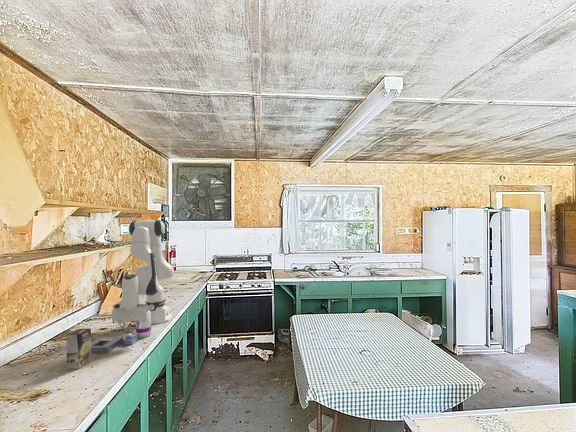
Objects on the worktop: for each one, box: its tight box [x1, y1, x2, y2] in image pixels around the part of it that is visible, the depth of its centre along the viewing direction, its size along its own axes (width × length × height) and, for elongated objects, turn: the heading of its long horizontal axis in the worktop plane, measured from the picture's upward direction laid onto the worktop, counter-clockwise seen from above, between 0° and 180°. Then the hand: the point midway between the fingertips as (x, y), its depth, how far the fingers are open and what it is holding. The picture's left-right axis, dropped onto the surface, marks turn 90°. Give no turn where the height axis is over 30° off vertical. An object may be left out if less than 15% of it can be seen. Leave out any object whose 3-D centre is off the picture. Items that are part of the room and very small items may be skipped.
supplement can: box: [135, 310, 152, 339], centre depth 202 cm, size 8×8×15 cm
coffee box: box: [66, 328, 92, 370], centre depth 162 cm, size 9×6×16 cm
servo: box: [123, 332, 139, 346], centre depth 191 cm, size 9×4×6 cm, turn 179°
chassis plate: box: [91, 336, 125, 354], centre depth 184 cm, size 16×14×3 cm
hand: (130, 328), depth 190 cm, fingers open, 8 cm apart
